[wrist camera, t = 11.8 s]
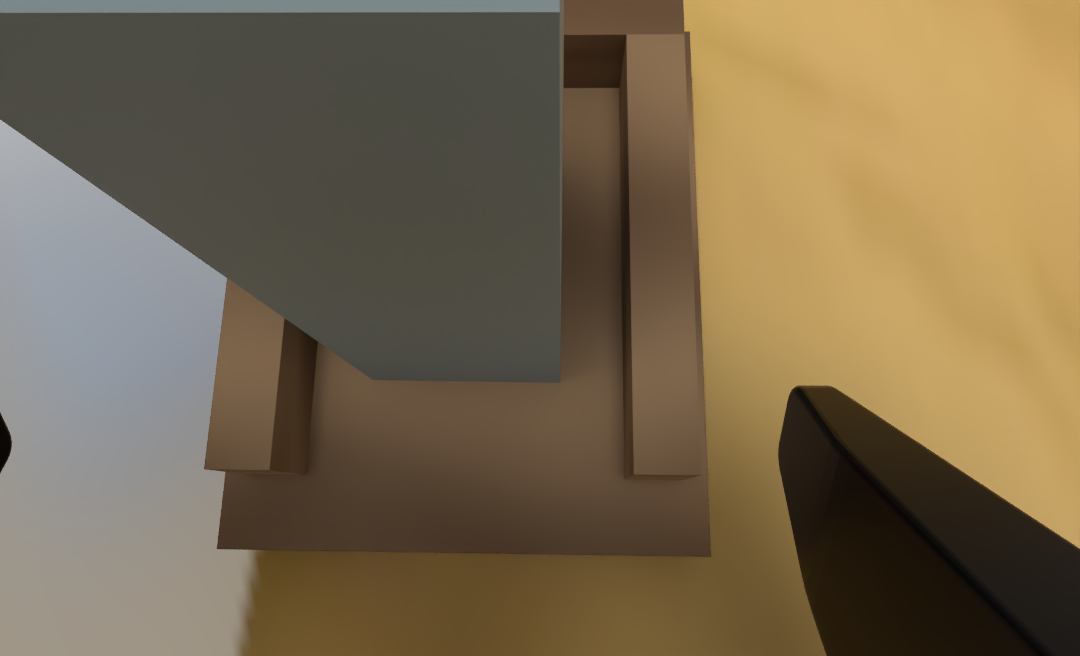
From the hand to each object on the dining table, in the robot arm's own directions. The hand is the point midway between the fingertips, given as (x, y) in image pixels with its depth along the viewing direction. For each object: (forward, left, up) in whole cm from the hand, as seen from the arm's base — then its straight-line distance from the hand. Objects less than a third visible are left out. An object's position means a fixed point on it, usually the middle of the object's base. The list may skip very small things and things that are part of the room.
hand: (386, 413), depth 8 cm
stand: (+4, -1, -9) cm, 10 cm away
